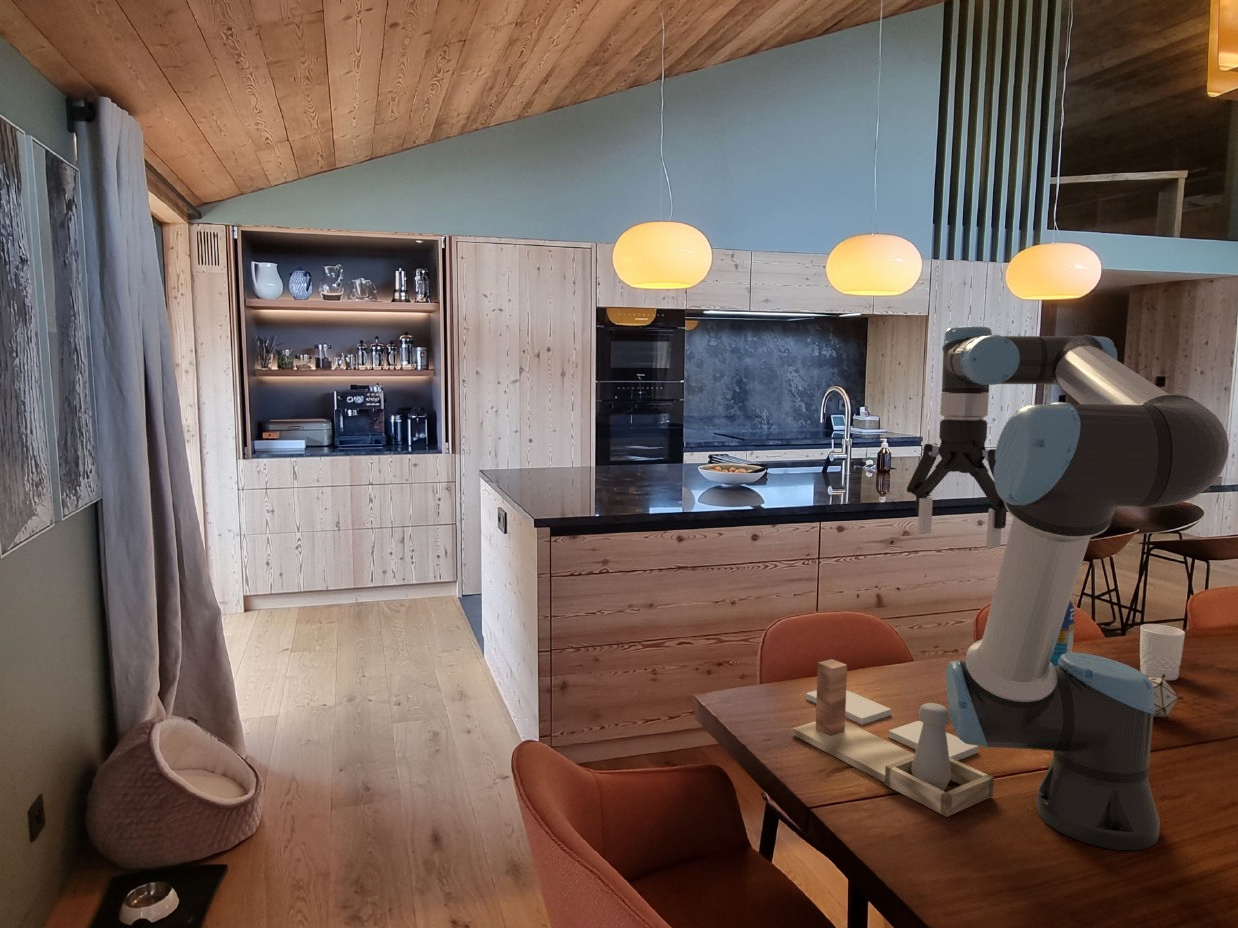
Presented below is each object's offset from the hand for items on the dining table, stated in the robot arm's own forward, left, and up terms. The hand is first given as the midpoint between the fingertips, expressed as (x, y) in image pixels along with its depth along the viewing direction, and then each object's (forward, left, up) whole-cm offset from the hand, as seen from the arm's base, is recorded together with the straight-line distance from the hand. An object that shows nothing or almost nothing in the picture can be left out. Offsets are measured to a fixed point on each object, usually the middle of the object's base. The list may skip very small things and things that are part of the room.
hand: (957, 540), depth 143 cm
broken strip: (+8, +7, -35) cm, 36 cm away
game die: (-16, -38, -35) cm, 54 cm away
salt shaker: (-11, +20, -35) cm, 42 cm away
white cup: (-6, -63, -35) cm, 72 cm away
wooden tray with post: (-3, +20, -35) cm, 40 cm away
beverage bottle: (+8, -46, -35) cm, 58 cm away
